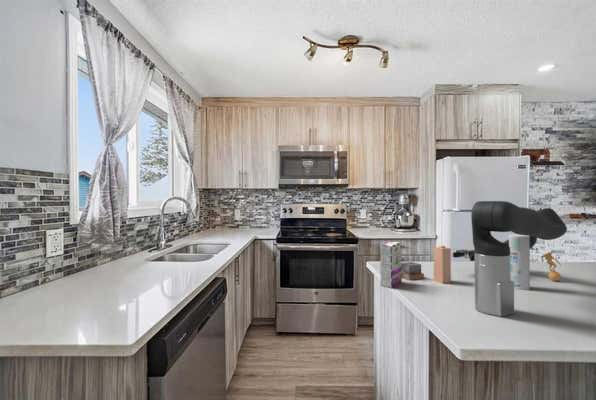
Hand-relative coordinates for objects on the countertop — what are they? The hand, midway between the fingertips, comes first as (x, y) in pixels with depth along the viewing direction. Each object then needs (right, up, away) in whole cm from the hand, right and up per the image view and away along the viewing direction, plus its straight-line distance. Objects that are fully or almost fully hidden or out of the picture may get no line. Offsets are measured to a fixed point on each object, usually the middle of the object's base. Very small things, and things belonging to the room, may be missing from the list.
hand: (461, 256), depth 131 cm
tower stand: (-21, -10, +3) cm, 23 cm away
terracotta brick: (-10, -9, -5) cm, 15 cm away
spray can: (+15, -9, -14) cm, 22 cm away
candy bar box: (-33, -10, -8) cm, 35 cm away
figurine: (+35, -9, -5) cm, 36 cm away
